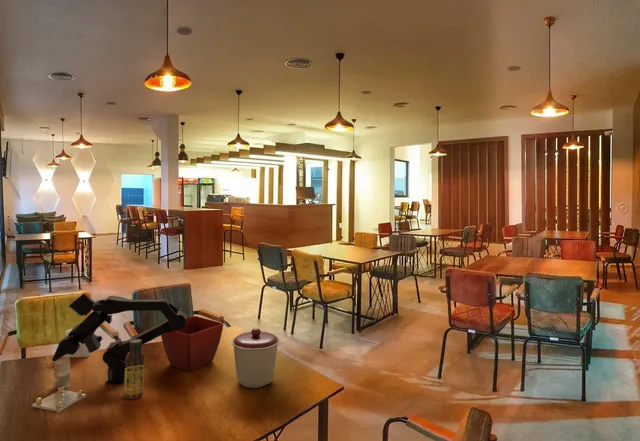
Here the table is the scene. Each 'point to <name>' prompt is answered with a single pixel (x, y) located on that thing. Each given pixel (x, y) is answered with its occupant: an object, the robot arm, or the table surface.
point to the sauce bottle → (134, 371)
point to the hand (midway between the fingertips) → (57, 355)
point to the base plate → (59, 400)
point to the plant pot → (193, 343)
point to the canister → (255, 357)
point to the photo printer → (81, 351)
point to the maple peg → (62, 372)
